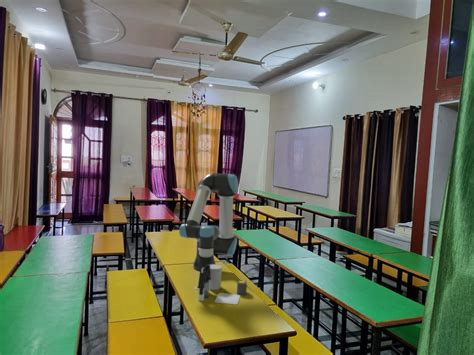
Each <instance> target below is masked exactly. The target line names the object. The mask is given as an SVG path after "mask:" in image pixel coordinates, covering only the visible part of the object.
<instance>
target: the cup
mask: <svg viewBox="0 0 474 355" xmlns="http://www.w3.org/2000/svg"><path fill="white" fill-rule="evenodd" d="M222 268H223V267H222V265H220V264H216V265H215V264H212V265H210V276H211V277H210V278H211V280H209V291H217V290H219V289H221V286H222Z"/></svg>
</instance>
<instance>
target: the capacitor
mask: <svg viewBox="0 0 474 355" xmlns="http://www.w3.org/2000/svg"><path fill="white" fill-rule="evenodd" d="M209 292H210V289H209V280H206V279H205V284H204V299H207V298H209Z"/></svg>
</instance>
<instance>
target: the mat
mask: <svg viewBox="0 0 474 355" xmlns="http://www.w3.org/2000/svg"><path fill="white" fill-rule="evenodd" d="M241 296H242V295H237V294H233V293H226V292H225V293H224V292H218V294H217V296H216V297H215V300H214V301H213V302H214V303H216V304H226V305H235V306H238V304H239V302H240V298H241Z"/></svg>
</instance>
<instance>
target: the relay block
mask: <svg viewBox="0 0 474 355" xmlns="http://www.w3.org/2000/svg"><path fill="white" fill-rule="evenodd" d="M236 282H237V284H236V295H241V296H247V283H248V282H247V280H237V281H236Z"/></svg>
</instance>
